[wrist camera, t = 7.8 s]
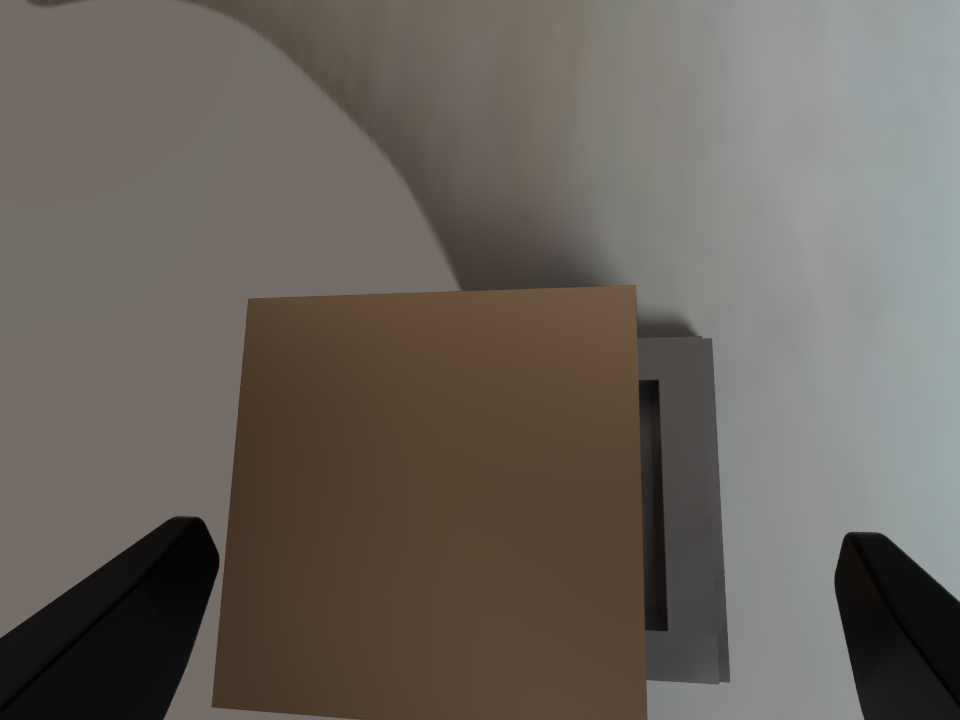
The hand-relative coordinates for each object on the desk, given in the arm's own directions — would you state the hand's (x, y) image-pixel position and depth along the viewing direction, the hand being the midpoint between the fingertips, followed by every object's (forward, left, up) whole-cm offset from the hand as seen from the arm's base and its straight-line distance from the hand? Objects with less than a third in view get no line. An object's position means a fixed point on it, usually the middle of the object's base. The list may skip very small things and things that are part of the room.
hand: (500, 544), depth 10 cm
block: (+1, 0, -10) cm, 10 cm away
